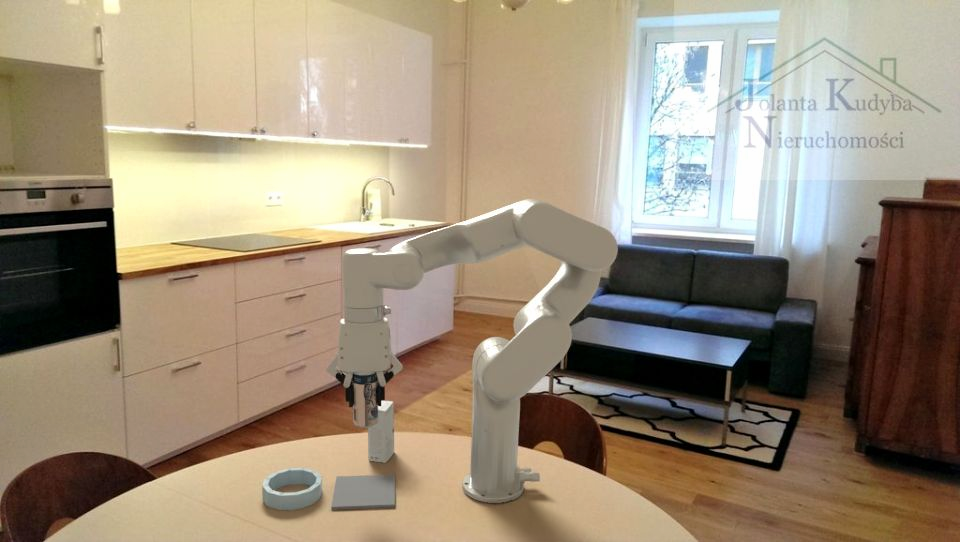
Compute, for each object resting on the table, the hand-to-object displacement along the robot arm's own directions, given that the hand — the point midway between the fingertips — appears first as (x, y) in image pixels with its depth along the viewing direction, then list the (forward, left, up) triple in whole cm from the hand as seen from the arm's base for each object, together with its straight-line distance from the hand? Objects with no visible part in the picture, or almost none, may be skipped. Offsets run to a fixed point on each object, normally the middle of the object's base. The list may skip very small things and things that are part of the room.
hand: (365, 403), depth 129 cm
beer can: (0, 0, -5) cm, 5 cm away
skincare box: (-3, -16, -19) cm, 25 cm away
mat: (0, 0, -19) cm, 19 cm away
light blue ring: (+14, 0, -19) cm, 24 cm away
